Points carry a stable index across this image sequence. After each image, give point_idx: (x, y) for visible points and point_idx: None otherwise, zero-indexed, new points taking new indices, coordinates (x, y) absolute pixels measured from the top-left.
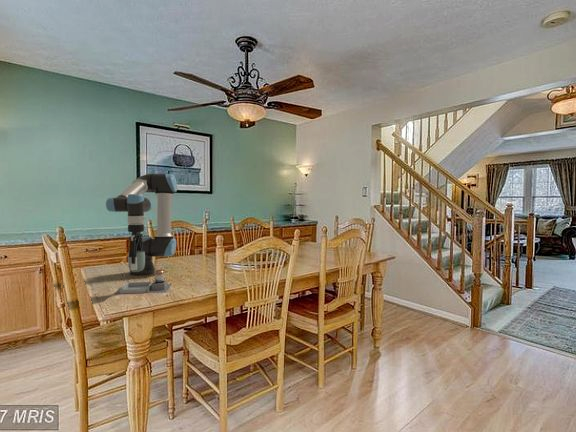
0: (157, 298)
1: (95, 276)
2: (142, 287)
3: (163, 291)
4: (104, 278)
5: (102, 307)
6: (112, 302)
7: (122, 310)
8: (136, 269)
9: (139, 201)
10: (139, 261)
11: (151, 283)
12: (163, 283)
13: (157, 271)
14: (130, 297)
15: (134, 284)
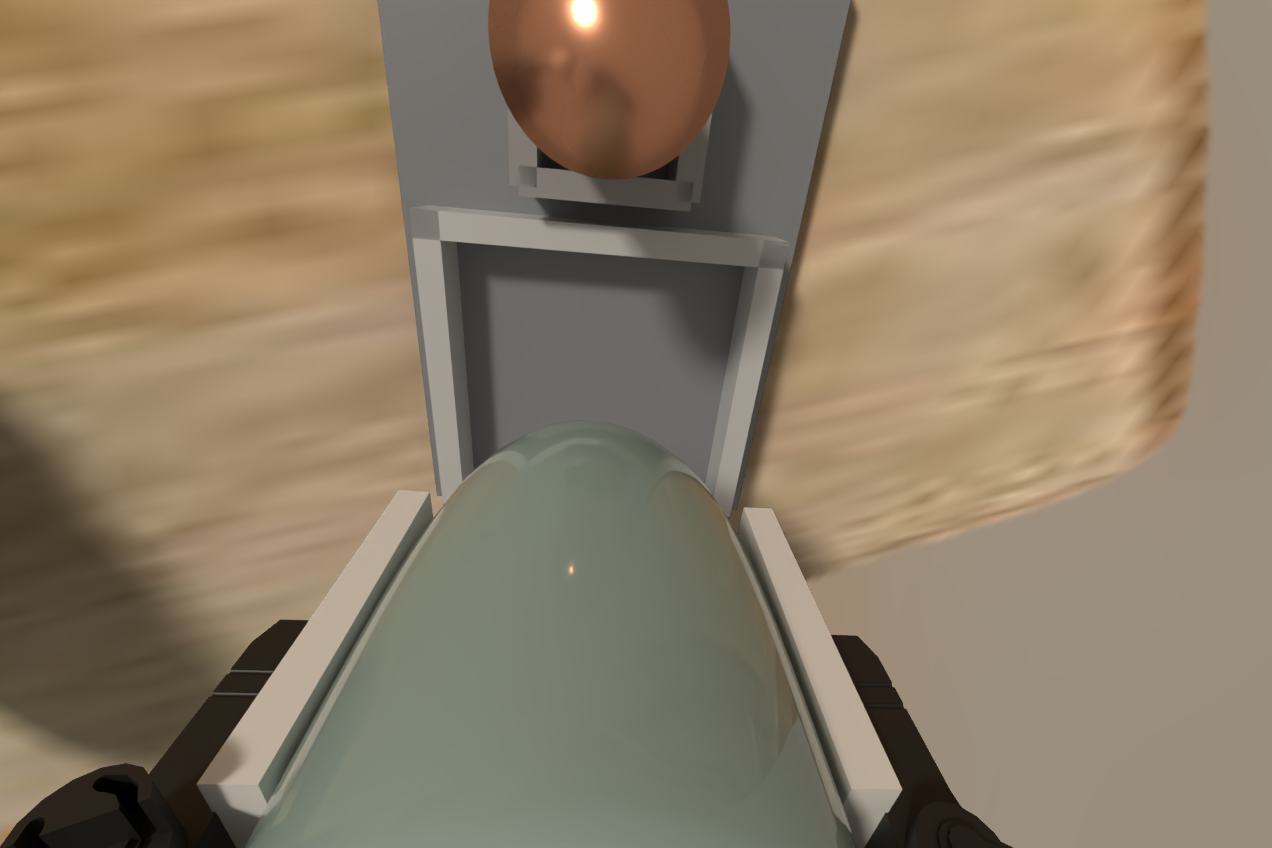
0: (928, 85)
1: (88, 766)
2: (539, 338)
3: (796, 7)
4: (133, 707)
5: (960, 518)
6: (865, 489)
7: (1128, 369)
8: (771, 515)
9: None
10: (758, 595)
11: (531, 235)
12: None
13: (658, 86)
14: (773, 390)
15: (466, 440)
